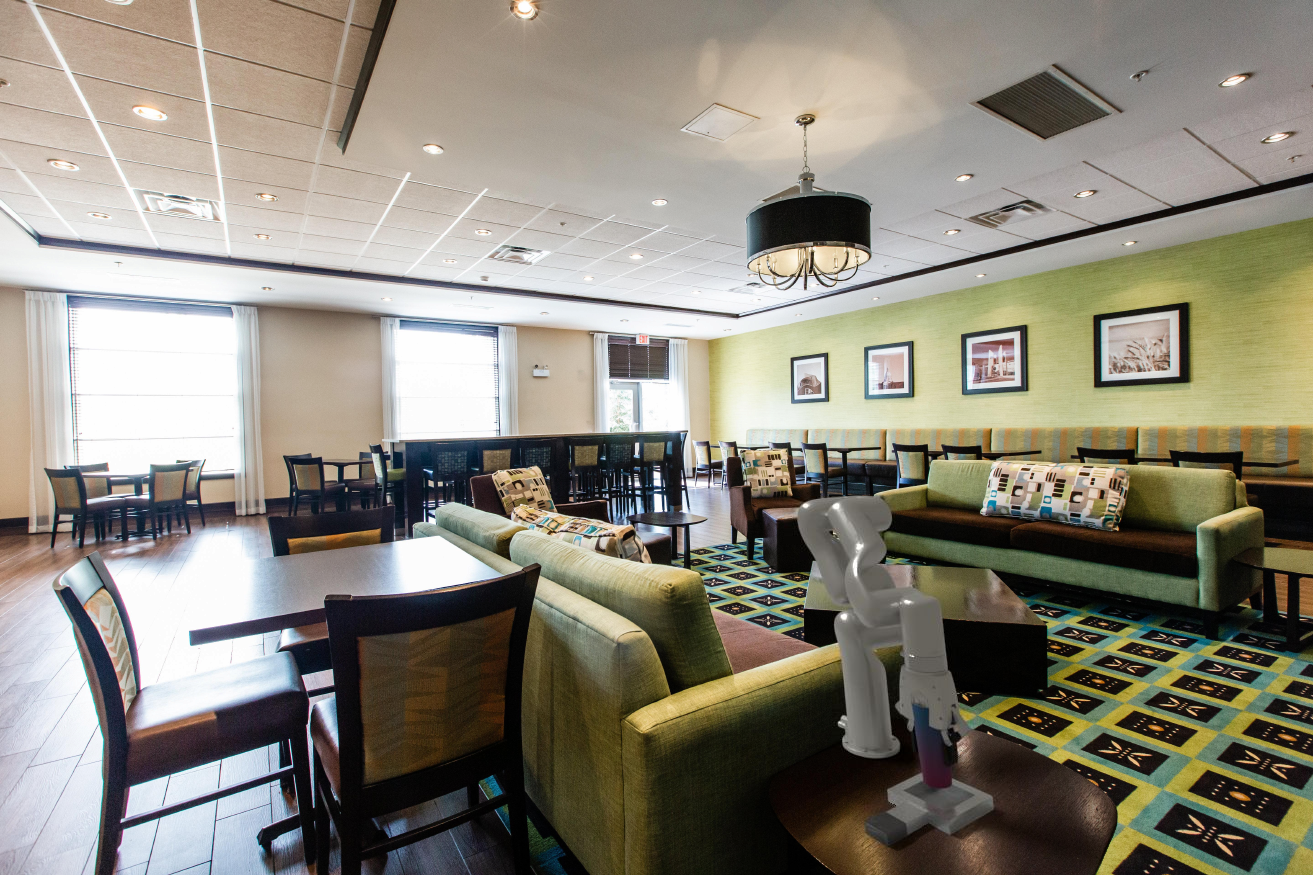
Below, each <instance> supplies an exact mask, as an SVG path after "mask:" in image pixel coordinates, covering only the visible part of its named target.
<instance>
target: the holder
mask: <svg viewBox="0 0 1313 875" xmlns="http://www.w3.org/2000/svg"><path fill="white" fill-rule="evenodd" d="M887 800H888V803H889V802H890V803H889V804H891V803H892V804H891V805H893V804H895V805H896V806H895V805H894V807H892V808H891V809H889V810H886V811H885V810H882V811H881V812H879V813H877V814H875V815H873V816H871V817H869V818H867V819H865V820H864V823H865V825H864V827H865V833H866V835H868V836H870V837H872V838H873V839H874V840H877V841H878V842H879V843H881V844H883V845H884V846H886V847H891V846H893V845H895V843H896V844H897V842H898V843H899V841H902V840H903V839H904V838H907V837H908V836H909V835H910V834H912V833H914V832H915V831H917V830H919V829H921V828H922V826H923V827H925V826H926V825H928V823H929V825H930V824H931V826H933V827H934V828H936V829H938V830H940V831H941V832H944V833H945V834H948V835H949V836H951V835H953V834H954V833H957V832H958V831H959V830H961V829H964V828H965V827H966V825H967V826H968V825H970V824H972V823H973V822H975V821H977V820H978V819H981V818H982V817H983V816H985V815H987V814H989V813H990V812H992V811H994V810H995V808H994V799H993V795H991V794H988V793H986V792H984V791H982V790H980V789H978V788H975V787H973V786H971V785H968V784H966V783H964V782H961V781H959V780H956V779H955V778H953V777H952V785H951V786H950V787H949V788H944V789H940V788H934V787H931V786H929V785H927V784H925V783H924V781H923V776H922V772H921V773H918V774H916V775H914V776H912V777H910V778H907V779H906V780H904V781H902V782H900V783H898V784H896V785H893V786H892V787H889V788H887ZM924 825H925V826H924Z"/></svg>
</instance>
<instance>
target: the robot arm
mask: <svg viewBox="0 0 1313 875" xmlns="http://www.w3.org/2000/svg"><path fill="white" fill-rule="evenodd" d="M796 515H797V516H796V518H797V524H798V525H797V526H798V530H799V532H800V535H801V537H802V540H803V541H804V543H805V545H806V546H807V548H808V549H809V551H810V553H811V554H812V555H813V557H814V559H815V562H816V564H817V568H818V570H819V573H820V575H821V578H822V581H823V584H824V587H825V589H826V592H827V594H828V597H829V599H830V600H831V602H832V603H833V604H834V605H837V606H838V607H839V606H840V607H850V608H847V609H844V610H842V611H840V612H839V613H837V615H836V616H835V617H834V624H833V626H834V633H835V637H836V640H837V644H838V648H839V652H840V660H841V667H842V677H843V678H842V679H843V685H844V686H843V687H844V698H845V708H846V709H845V710H846V715H845V714H843V715H842V716H841V717H840V720H839V721H838V722H837V726H838V727H839V728H842V729H844V731H845V734H844V735H843V737H842V746H843V749H845V750H846V751H848V752H849V753H851V754H853V755H856V756H859V757H861V758H862V757H863V758H868V759H884V758H885V759H886V758H889V757H890V758H891V757H892V756H895V755H897V754H898V753H899V752H900V749H901V743H900V741H899V739H898V738H897V737H896V736H894V735H892V725H891V724H892V723H891V715H890V714H891V713H890V703H889V693H888V684H887V683H888V682H887V674H886V668H885V666H884V664H883V662H882V661H881V660H880V659H879V658H878V656H876V655H875V653H874V651H875V650H877V649H883V648H884V649H885V648H889V647H898V646H902V649H901V650H900V653H899V655H900V656H901V657H902V658H904V664H902V665H901V667H900V673H899V675H900V676H899V700H898V701H897V702H896V703H895V705H894V706H895V709H896V710H897V712H898V713H899V714H900V715H901V717H902V719H903V721H904V723H905V724H906V725H907V726H906V727H907V729H908V731H909V732H910V737H911V745H912V752H913V753H914V754H919V751H918V745H917V739H916V733H915V727H914V715H913V710H912V704H911V702H913V703H914V704H916V705H919V706H922V707H928V708H929V726H930V727H932V728H934V729H937V730H940V731H941V734H942V736H943V739H944V741H945V744H943V745H942V747H943V756H944V765H945V766H947V767H950V766H951V767H952V766H954V765H957V764H958V762H959V752H958V743H959V742H960V741H961V740H962V739H963V738H964V737H965V736H967V735H968V734H970V733H971V731H972V729H971V726H970V725H969V724H968V723H967V721H966V720H965V719H964V717H963V716H962V714H961V713H960V705H959V701H958V700H959V699H958V696H957V691H956V687H955V682H954V678H953V676H952V675H953V674H952V672H951V671H950V670H948V669H949V668H948V660H947V658H948V657H947V652H946V650H947V649H946V643H945V633H944V631H945V630H944V623H943V614H942V613H943V611H942V605H941V602H940V600H939V599H938V598H937V597H935V596H933V595H930V594H929V595H927V594H925V593H923V592H922V591H921V590H919V589H918V588H915V587H911V586H908V587H907V586H906V587H897V586H896V584H895V581H894V579H893V577H892V575H891V574H890V573H889V571H888V570H887V569H886V568H885V567H884V566H882V565H881V564H879V563H880V562H881V561H882V560H883V559H884V558H885V556H886V555H887V545H886V543H885V542H884V540H883V538H882V537H881V535H880V534H879V532H883V531H886V530H888V529H889V528H890V526H891V524H892V522H893V517H892V511H891V509H890V506H889V505H888V504H887V503H886V501H885V500H884V499H882V498H881V497H878V496H868V495H849V496H837V497H823V498H817V499H811V500H808V501H805V502H804V503H802V504H801V505H800V506H799V508H798V510H797V514H796ZM831 531H832V532H835V534H836V536H834V535H832V534H831V533H830V532H831ZM851 607H852V608H851ZM955 726H957V729H956V727H955ZM948 729H949V732H950V735H949V733H948Z"/></svg>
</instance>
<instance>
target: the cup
mask: <svg viewBox="0 0 1313 875" xmlns="http://www.w3.org/2000/svg"><path fill="white" fill-rule="evenodd" d="M911 704H912V710H913V715H914V727H915V733H916V739H917V745H918V751H919V753H918V757H919V761H920V762H919V763H920V768H921V773H922V776H923V781H924V783H925V784H927V785H929V786H931V787H934V788H940V789H944V788H949V787H950V786H951V785H952V778H953V776H952V775H953V770H952V769H953V768H952V766H950V767H947V766H945V765H944V756H943V747H942V745H943V744H945V741H944V739H943V736H942V734H941V731H940V730H937V729H934V728H932V727H930V726H929V708H928V707H922V706H919V705H916V704H914V703H913V702H911ZM948 733H949V735H950V736H951V734H950V732H949V729H948Z"/></svg>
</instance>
